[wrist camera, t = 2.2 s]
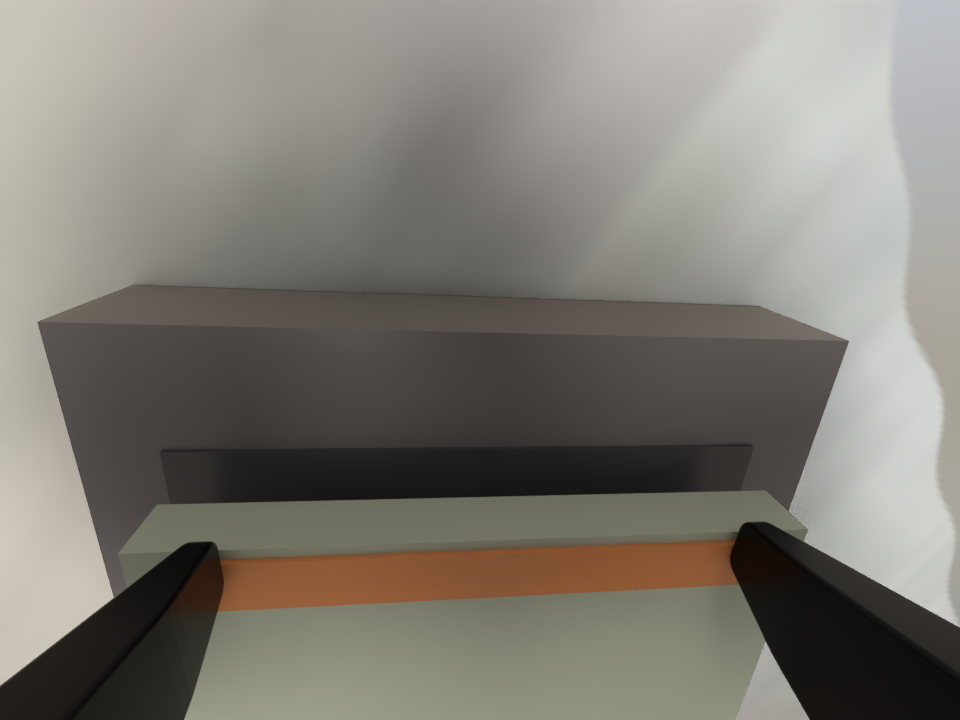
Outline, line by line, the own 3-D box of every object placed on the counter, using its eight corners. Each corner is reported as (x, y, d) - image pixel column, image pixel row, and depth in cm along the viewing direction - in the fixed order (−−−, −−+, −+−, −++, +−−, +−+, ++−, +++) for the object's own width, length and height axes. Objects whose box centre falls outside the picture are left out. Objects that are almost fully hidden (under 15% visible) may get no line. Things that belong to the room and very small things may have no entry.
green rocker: (687, 659, 13) (732, 740, 11) (216, 693, 11) (177, 794, 9) (744, 471, 11) (811, 532, 9) (175, 481, 9) (114, 559, 7)
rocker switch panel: (632, 761, 20) (667, 857, 17) (235, 802, 18) (201, 920, 15) (758, 306, 13) (852, 342, 10) (132, 285, 11) (33, 323, 8)
